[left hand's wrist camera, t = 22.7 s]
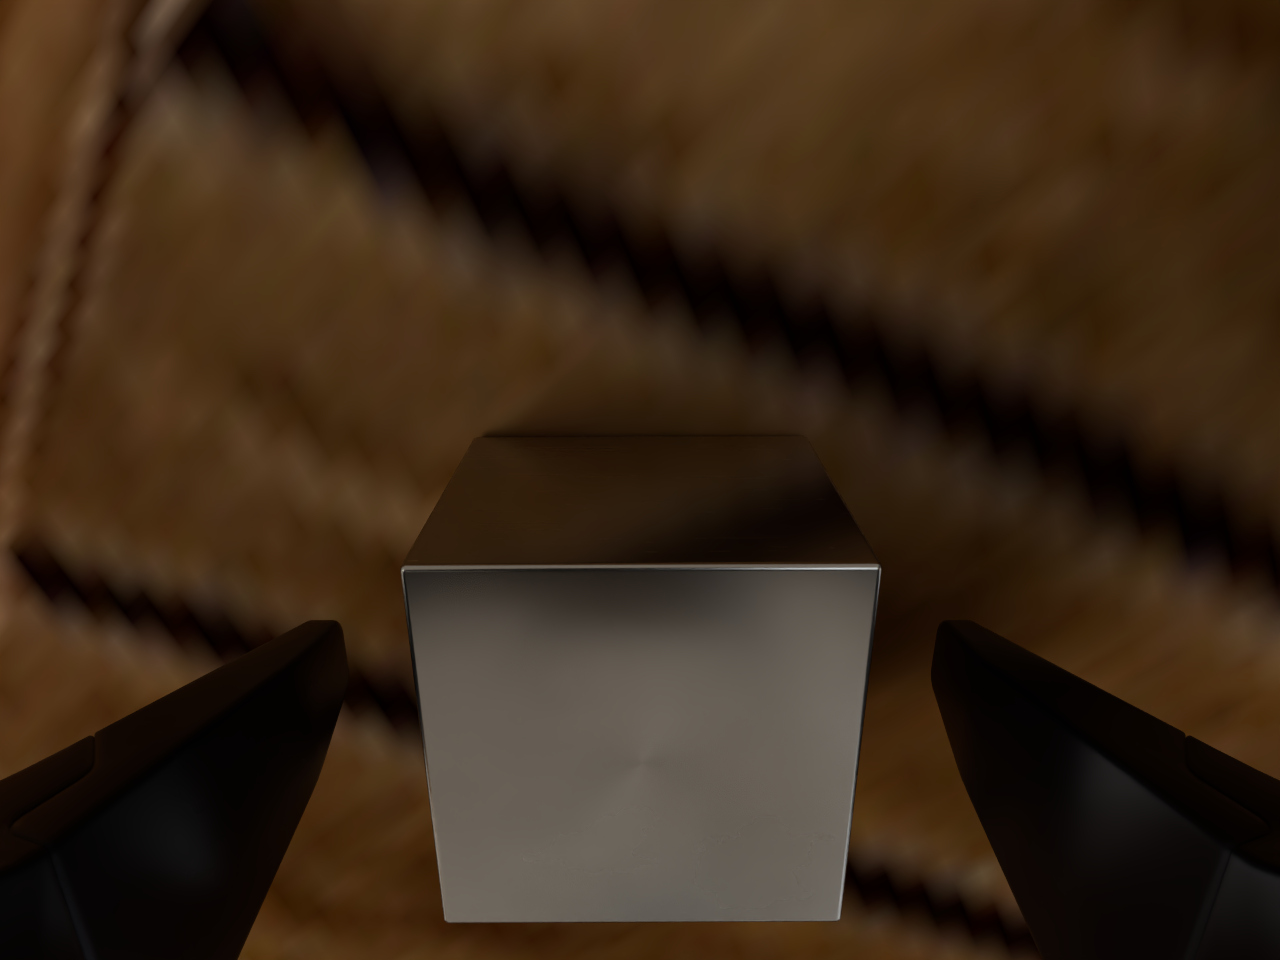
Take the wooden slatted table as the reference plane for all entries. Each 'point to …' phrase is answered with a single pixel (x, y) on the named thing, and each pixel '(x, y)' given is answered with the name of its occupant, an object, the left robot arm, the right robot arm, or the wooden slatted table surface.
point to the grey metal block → (641, 679)
